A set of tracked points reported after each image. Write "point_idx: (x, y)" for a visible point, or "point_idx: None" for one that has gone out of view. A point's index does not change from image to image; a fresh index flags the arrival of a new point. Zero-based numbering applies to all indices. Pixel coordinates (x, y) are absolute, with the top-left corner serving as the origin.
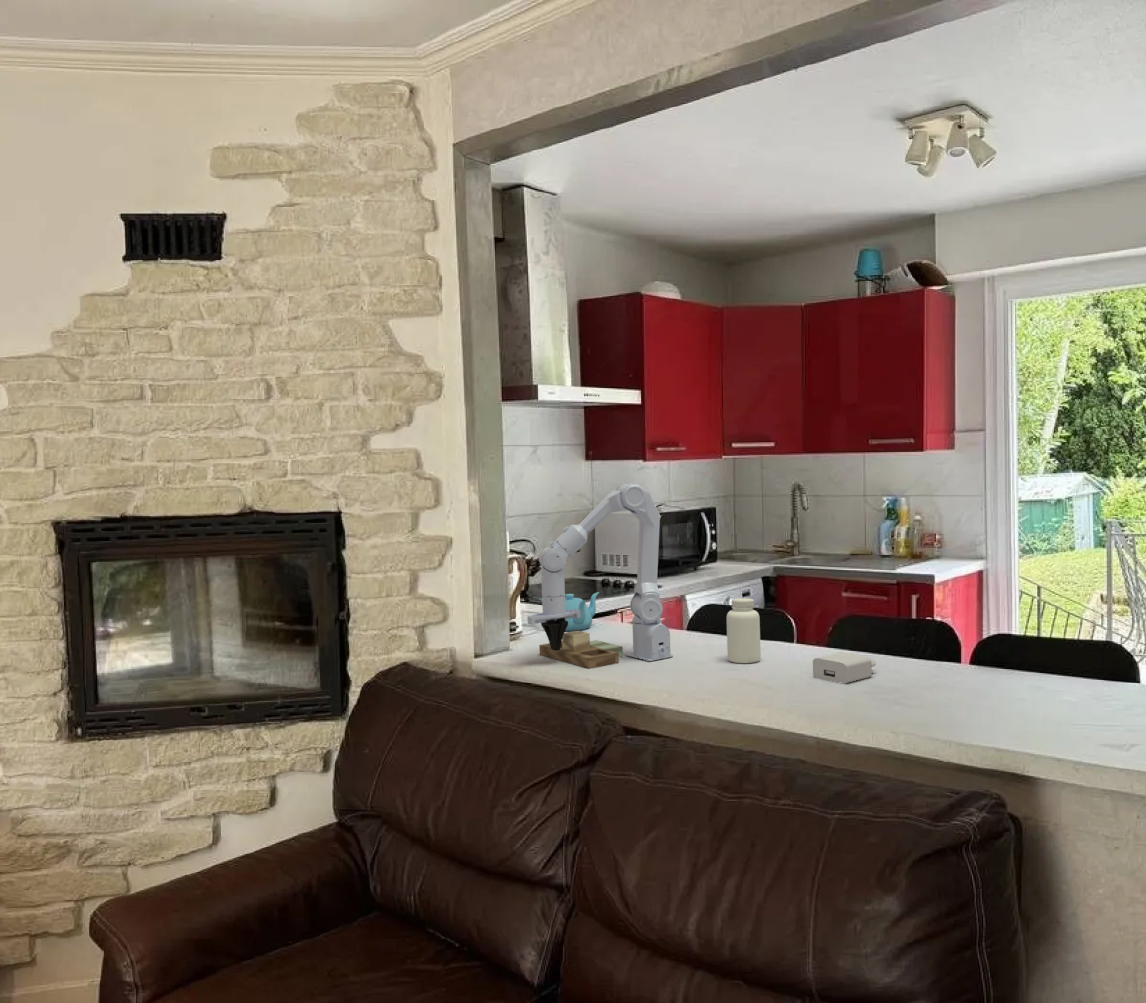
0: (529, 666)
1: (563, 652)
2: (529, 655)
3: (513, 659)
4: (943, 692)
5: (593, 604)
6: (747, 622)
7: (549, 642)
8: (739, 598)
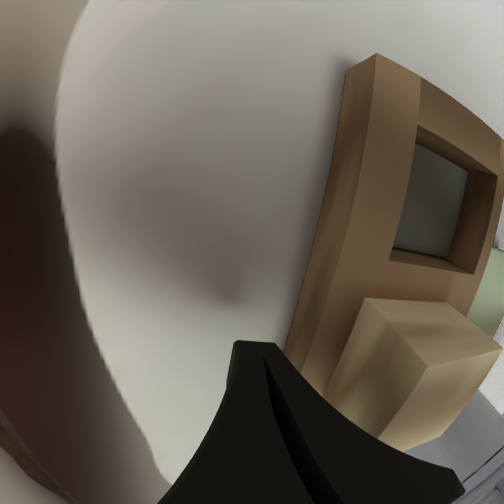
0: (88, 264)
1: (306, 350)
2: (292, 33)
3: (148, 39)
4: None
5: None
6: None
7: (232, 371)
8: None
